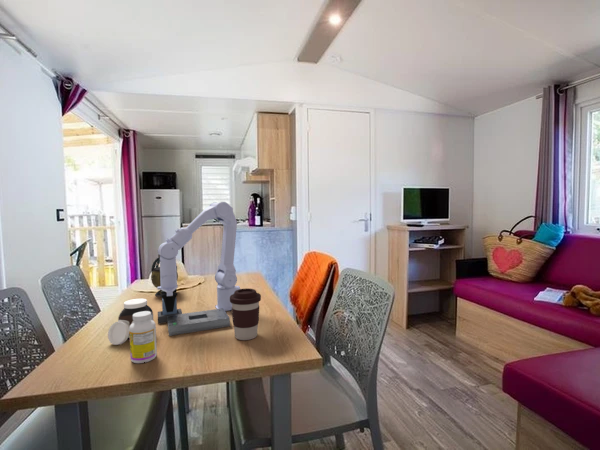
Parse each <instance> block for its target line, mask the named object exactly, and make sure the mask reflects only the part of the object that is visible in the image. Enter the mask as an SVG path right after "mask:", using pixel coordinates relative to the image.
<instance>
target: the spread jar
mask: <svg viewBox="0 0 600 450" xmlns="http://www.w3.org/2000/svg"><path fill="white" fill-rule="evenodd" d="M142 311H150V312H151V320H153V321H154V311H153V309H152V308H151V307H150V306H149V305H148V299H146V298H133V299H128V300H126V301H124V302H123V309H122V310H121V311H120V313H119V315H118V318H117V321H115V322H113V323H112V324H111V325H110V327H109V328H108V331H107V339H108V341H109V343H110V344H112V345H114V346H117V345H118V346H119V345H122V344H124V343H126V341H130V336H129V327H130V325H131V324H132V323H134V321H133V314H135V313H137V312H142ZM154 322H155V321H154Z"/></svg>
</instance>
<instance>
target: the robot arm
mask: <svg viewBox="0 0 600 450" xmlns="http://www.w3.org/2000/svg"><path fill="white" fill-rule="evenodd" d="M215 219H216V220H218V221H219V223H220V224H222V225H223V230H222V242H221V251H220V252H221V253H220V263H219V264H218V266H217V271H216V273H215V275H214V281H215V282H216V284H217V285H216V297H217V298H216V299H217V300H216V301H217V303H216V305H215V306H214V307H215V309H221V308H223V309H224V310H225V312H227V311H232V303H231V302H230V296H231V295H233V294H234V292H235V291H236V290H239V289H241V288H240V287H241V286H240V285H237V282H238V277H237V273H236V267H235V265H234V263H235V262H234V261H235V260H234V259H235V251H236V250H235V249H236V239H237V229H238V220H237V219H236V215H235V213H234V208H233V207H232V206H231V205H230V204H229V203H228V202H226V201H220V202H219V201H218V202H217V201H214V202H211V203H210V204H209V205H208V206H206V207H205V208H204V209H203V210H202V211H201V212H200V213H199V214H198V215H197V216H196V217H195V218H194V219H192V221H191V222H190V223H189V224H188V225H187V226H186V227H180V228H177V229H175V233H173V234H172V235H171V236H170V237H169V238H166V239H165V242H162V243H161V244H160V245H159V246H158V249H157V253H158V254H159V255H160V264H159V267H160V283H161V286H160V287H157V288H156V290H158V291H159V290H163V291H161V293H162V294H161V296H162V297H161V299H162V298H163V300H164V303H165V307H166V311H167V312H173V309H174V303H175V299H176V298H178V292H177V291H178V290H177V289H178V288H179V285H178V280H177V273H178V269H177V270H176V265H177V259H176V258H177V256H178V254H179V251H180V250H181V249H182V248H183V247H185V246H186V244H188V243H189V242H190V241H191V240H192V238H193V233H194V232H196V231H197V230H198V229H199V228H201V227H202V226H203V225H204V224H205V223H207V222H208V221H209V220H215ZM158 254H157V255H158Z"/></svg>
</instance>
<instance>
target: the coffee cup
mask: <svg viewBox="0 0 600 450" xmlns="http://www.w3.org/2000/svg"><path fill="white" fill-rule="evenodd" d="M261 300H262V296H261V294H260V293H259V292H257V290H256V289H253V288H240V289H239V290H236V291H235V292H234V294H233V295H231V296H230V302H231V303H232V310H231V316H232V325H233V330H234V338H236V339H237V340H240V341H250V340H253V339H255V338H256V337H257V336H258V330H259V329H258V327H259V319H260V301H261Z"/></svg>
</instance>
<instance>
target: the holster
mask: <svg viewBox="0 0 600 450" xmlns="http://www.w3.org/2000/svg"><path fill="white" fill-rule="evenodd" d="M177 314H183V311H182V309H181V308H177V313H176V314H168V315H163V312H162V311H161V310H160V311H157V324H165V323H166V324H167V323H168V320H167V316H170V315H177Z"/></svg>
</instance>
